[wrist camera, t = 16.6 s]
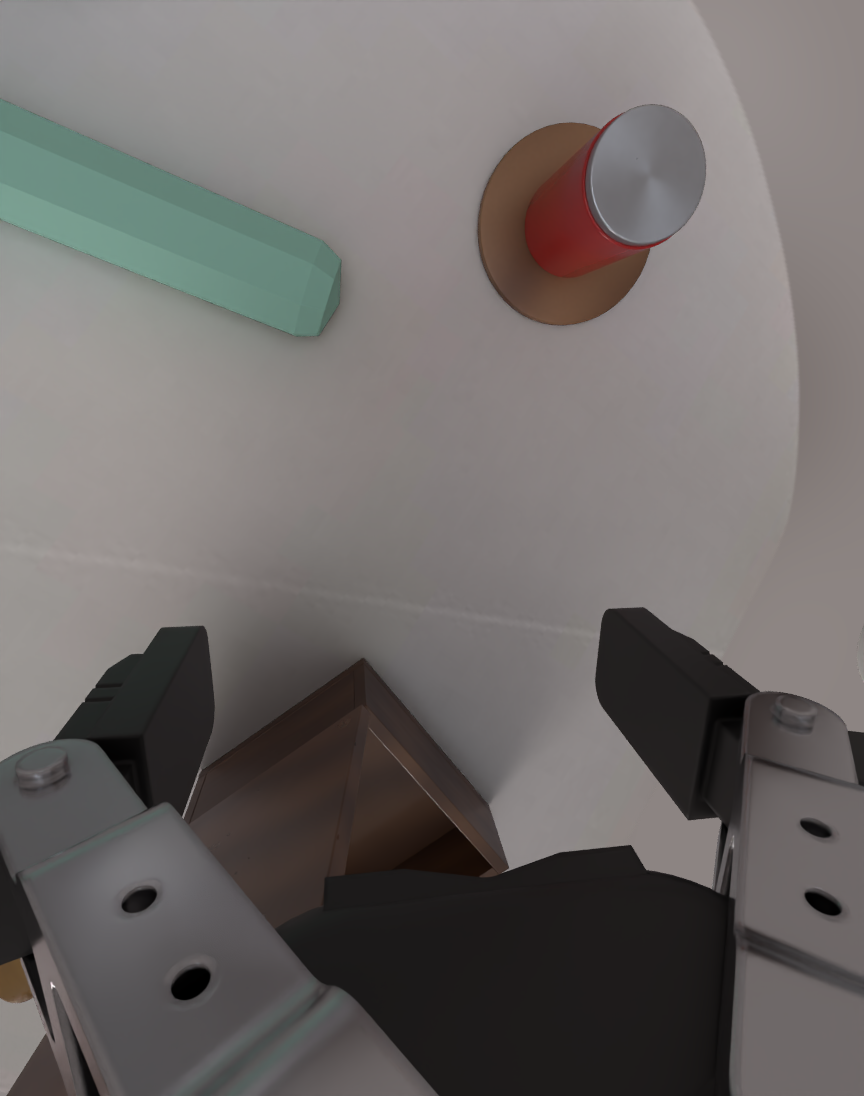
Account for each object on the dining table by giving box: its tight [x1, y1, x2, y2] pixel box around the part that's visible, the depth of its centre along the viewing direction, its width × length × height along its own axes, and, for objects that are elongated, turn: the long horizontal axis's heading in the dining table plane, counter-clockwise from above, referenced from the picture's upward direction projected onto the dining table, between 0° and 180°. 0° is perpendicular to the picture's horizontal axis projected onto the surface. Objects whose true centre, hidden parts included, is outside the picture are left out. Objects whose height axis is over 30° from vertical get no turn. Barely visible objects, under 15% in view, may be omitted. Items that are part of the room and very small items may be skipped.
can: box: [525, 104, 706, 278], centre depth 28 cm, size 5×5×9 cm
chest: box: [184, 658, 509, 877], centre depth 39 cm, size 16×14×6 cm
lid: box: [0, 705, 370, 1096], centre depth 25 cm, size 16×14×5 cm
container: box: [0, 99, 341, 337], centre depth 27 cm, size 6×6×25 cm
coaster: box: [478, 123, 650, 325], centre depth 33 cm, size 10×10×1 cm
